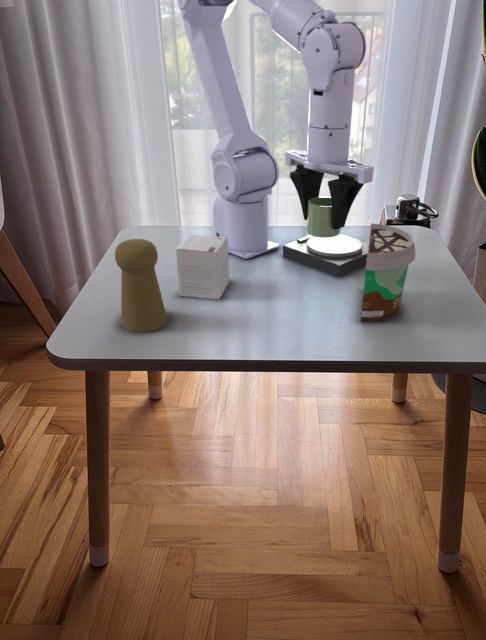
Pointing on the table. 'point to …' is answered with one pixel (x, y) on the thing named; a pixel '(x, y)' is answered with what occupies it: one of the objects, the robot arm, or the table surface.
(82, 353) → the table surface
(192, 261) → the product carton
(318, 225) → the green cup
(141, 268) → the olive yellow pawn
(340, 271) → the kitchen scale
